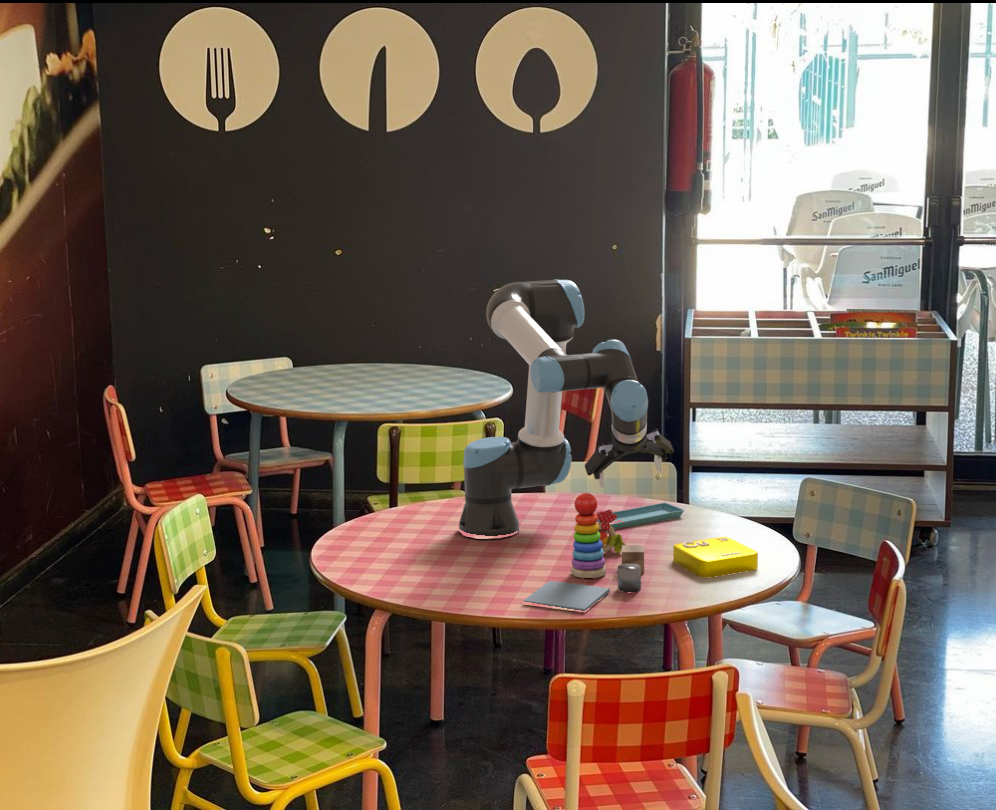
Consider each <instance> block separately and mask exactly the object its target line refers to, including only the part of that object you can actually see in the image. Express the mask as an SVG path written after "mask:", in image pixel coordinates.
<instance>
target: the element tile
mask: <svg viewBox="0 0 996 810" xmlns="http://www.w3.org/2000/svg"><path fill="white" fill-rule="evenodd" d="M672 549H673V550H672V552H673V553H672V554H673V556H672V557H673V560H672V561H673V563H674V564H676V565H677V564H678V565H677V566H679V567H681V568H683V569H685V570H686V569H687V570H686V571H689V572H690V573H692V574H694V575H695V574H696V575H695V576H697V577H699V576H700V578H703V577H705V579H708V578H707V577H712V578H716V577H715V576H718V577H723V576H722V575H725V576H729V575H728V574H731V575H734V574H733V573H737V574H740V573H739V572H743V573H746V572H745V571H749V572H752V571H751V570H754V571H757V570H758V569H757V568H759V567H758V565H759V563H758V561H759V556H758V555H759V553H758V551H757V550H755V549H753V548H751V547H749V546H746V545H745V544H743V543H741V542H739V541H736V540H734V539H733V538H730V537H728V536H717V537H713V538H712V537H711V538H704V539H698V540H691V541H684V542H679V543H675V544H673V548H672ZM756 569H757V570H756Z"/></svg>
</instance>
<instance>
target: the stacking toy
mask: <svg viewBox="0 0 996 810" xmlns="http://www.w3.org/2000/svg"><path fill="white" fill-rule="evenodd" d="M574 508H575V511H576V512H577V513H578V514H577V515H576V516H575V517H574V519H575V523H576V524H575V525H574V533H573V539H574V541H573V544H572V546H573V550H572V559H571V568H570V572H571V575H572V576H574V577H576V578H578V577H579V579H584V578H593V579H599V578H601V577H604V575H605V574H606V573H607V568H606V566H605V564H606V560H605V558H604V554H605V553H604V551H603V549H602V541H601V540H600V533H599V532H598V530H599V525H598V524H597V523H596V522H597V521H598V516H597V515H596V514H597V513H595V512H596V510H597V508H598V500H597V498H596V497H595V496H594V495H593V494H592V493H588V492H583V493H581V494H579V495H577V497H576V498H575V500H574Z"/></svg>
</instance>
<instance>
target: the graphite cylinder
mask: <svg viewBox="0 0 996 810" xmlns="http://www.w3.org/2000/svg"><path fill="white" fill-rule="evenodd" d="M618 589H619V590H620V591H619V590H618ZM617 590H618V591H619V592H621V591H623V592H622V593H625V592H635V593H638V592H640V591H641V590H642V573H641V566H639V565H637V564H622V563H621V564H618V565H617Z"/></svg>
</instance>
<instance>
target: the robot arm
mask: <svg viewBox="0 0 996 810" xmlns="http://www.w3.org/2000/svg"><path fill="white" fill-rule="evenodd" d="M485 314H486V321H487V324H488V325H489V326H488V327H490V329H491V331H492V332H493V333H494V334H495V335H496V336H497V337H498V338H500V339H503V340H506V341H507V342H508V343H509V344H510V346H512V348H513V349H515V350H516V352H517V353H518V354H519V355H520V356H521V357H522V359H524V361H525V362H526V363H527V364H528V377H527V378H528V380H527V391H526V393H527V394H526V405H525V406H526V407H525V408H526V409H525V418H524V427H522V428H521V429H520V430H519V431H518V433H517V434H518V435H517V441H513V442H511V439H509V438H508V437H504V436H496V437H495V436H490V437H489V436H488V437H484V438H480V439H476V440H474V441H472V442H470V443H468V444H467V445H466V446H465V447H464V450H463V461H462V462H463V463H462V464H463V475H464V477H463V478H464V479H463V480H464V505H463V507H462V508H463V509H462V512H461V515H460V519H459V523H458V530H459V529H460V530H462V531H464V532H466V533H470V534H476V535H485V536H498V535H506V534H511V533H514V532H516V531H518V530H519V531H520V522H519V519H518V515H517V513H516V510H515V508H514V504H513V501H512V490H513V489H515V490H516V489H523V488H524V489H525V488H532V487H534V488H535V487H539V486H544V487H548V486H551V485H556V484H559V483H562V482H563V481H565V479H566V478H567V477H568V475H569V473H570V471H571V467H572V454H571V452H572V450H571V445H570V442H569V441H568V440H567V439H566V438H565V434H564V433H563V432H562V431H561V430H560V421H561V412H562V410H561V409H562V399H563V398H562V397H563V392H568V391H579V390H591V389H603V391H604V393H605V397H606V399H607V402H608V405H609V408H610V412H611V442H610V443H609V444H607V445H604V443H603V442H601V443H598V444H597V449H595V451H594V453H592V455H591V456H590V458H589V459H588V460H587V462H586V463H585V464H584V469H585V471H586V475H587V476H592V475H593V477H594V479H595V480H598V483H599V486H600V488H604V487H605V480H604V479H605V475H604V471H605V470H606V469H607V468H608V467H610V466H611V465H612V464H614V462H616V461H619V460H621V459H622V458H623V457H624V456H627V455H630V454H635V453H638V452H639V453H642V454H646V453H648V454H651V455H653V456H654V459H653V462H654V465H655V468H656V471H657V473H660V472H662V462H665V461H666V460H667V459H668V456H667V454H669V455H670V454H674V452H675V450H674V447H673V444H672V443H671V442H672V441H670V440H669V439H668V438H666V437H665V436H663V435H662V434H661V433H659V429H658V428H653V429H652V430H651V432H650V433H648V431H647V430H648V429H647V428H648V427H647V426H648V408H649V398H648V393H647V389H646V388H645V386H644V385H642V384H641V383H640V382H639V379H638V376H637V373H636V371H635V368H634V364H633V361H632V357H631V355H630V353H629V351H628V349H627V347H626V345H625V344H624V342H622V341H621V340H618V339H607V340H606V341H604V342H603V341H601V342H599V343H598V344H597V345H596V346H595V347H594V348H593V349H592V352H589V353H578V354H577V353H576V354H567V353H566V351H567V350H566V349H567V344H568V343H569V342H570V341H572V339H574V331H575V329H578V328H579V327H582V326H583V324H584V322H585V314H586V312H585V304H584V299H583V297H582V293H581V291H580V288H579V286H577V284H576V283H575V282H573V281H572V280H569V279H557V278H555V279H551V280H548V279H547V280H535V281H533V280H532V281H516V282H510V283H508V284H507V283H506V284H505V285H503V286H501V287H500V288H498V289H497V290H496V291H495V292H494V293H493V294H492V296H491V297H490V299H489V301H488V304H487V305H486V311H485ZM647 433H648V434H647Z"/></svg>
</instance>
